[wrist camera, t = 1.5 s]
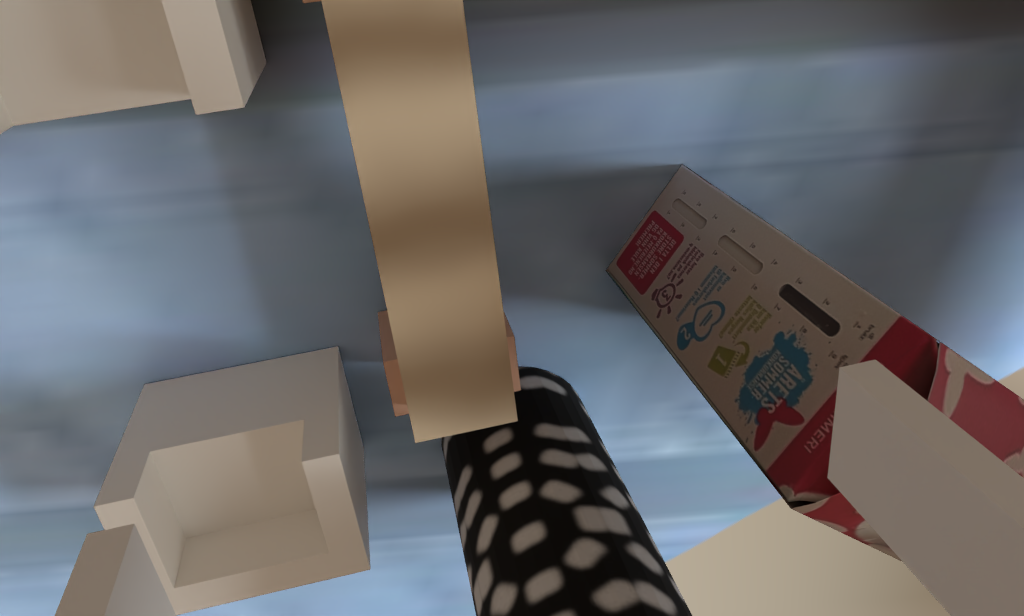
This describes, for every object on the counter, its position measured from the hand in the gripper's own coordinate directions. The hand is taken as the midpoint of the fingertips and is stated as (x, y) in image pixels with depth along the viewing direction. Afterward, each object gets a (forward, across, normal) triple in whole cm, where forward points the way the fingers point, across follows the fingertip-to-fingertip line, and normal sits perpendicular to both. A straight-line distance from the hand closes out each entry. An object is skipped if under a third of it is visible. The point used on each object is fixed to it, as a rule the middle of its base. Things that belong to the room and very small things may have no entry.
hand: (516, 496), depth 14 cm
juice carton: (+24, -14, +7) cm, 29 cm away
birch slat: (+19, 0, 0) cm, 19 cm away
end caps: (+24, +10, +2) cm, 26 cm away
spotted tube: (+24, -3, +17) cm, 29 cm away
